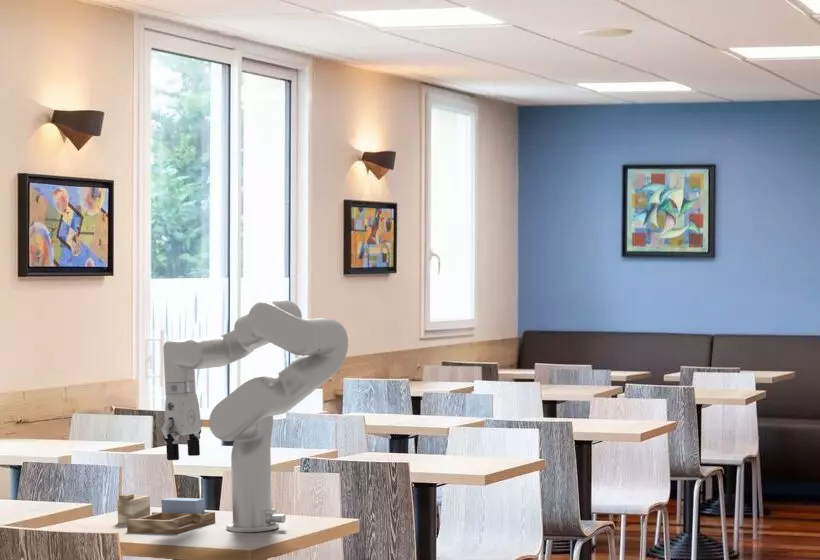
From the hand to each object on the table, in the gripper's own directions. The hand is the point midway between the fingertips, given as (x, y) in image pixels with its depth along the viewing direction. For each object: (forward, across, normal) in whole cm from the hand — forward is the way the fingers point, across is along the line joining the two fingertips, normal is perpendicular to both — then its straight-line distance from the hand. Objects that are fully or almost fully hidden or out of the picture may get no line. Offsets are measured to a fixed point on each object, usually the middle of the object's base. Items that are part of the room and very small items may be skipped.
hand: (183, 457), depth 359 cm
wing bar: (+15, 0, +1) cm, 15 cm away
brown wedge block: (+16, +1, +16) cm, 23 cm away
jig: (+16, -5, +1) cm, 17 cm away
